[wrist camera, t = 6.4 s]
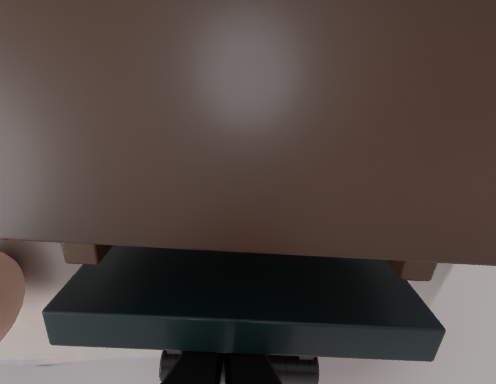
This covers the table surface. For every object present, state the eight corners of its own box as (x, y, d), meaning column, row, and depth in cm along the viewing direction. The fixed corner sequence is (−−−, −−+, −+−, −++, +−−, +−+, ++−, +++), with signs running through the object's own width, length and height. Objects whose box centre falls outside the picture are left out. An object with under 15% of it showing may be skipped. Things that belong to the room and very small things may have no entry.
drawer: (335, 305, 16) (394, 456, 10) (144, 296, 16) (74, 445, 9) (423, -88, 10) (754, -398, 3) (110, -116, 9) (-168, -512, 3)
